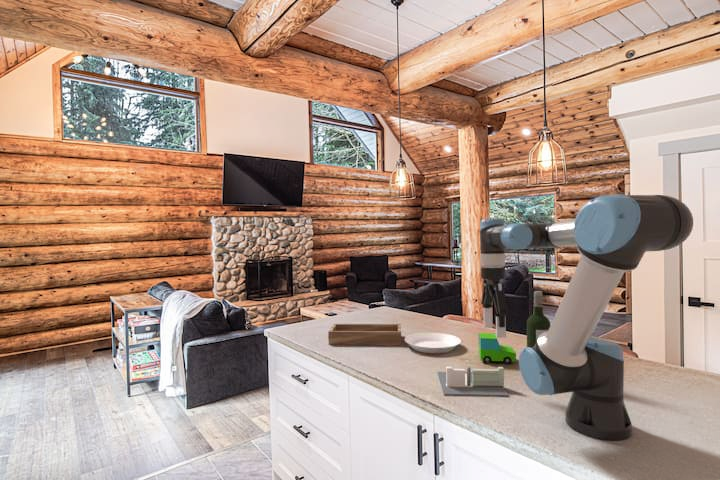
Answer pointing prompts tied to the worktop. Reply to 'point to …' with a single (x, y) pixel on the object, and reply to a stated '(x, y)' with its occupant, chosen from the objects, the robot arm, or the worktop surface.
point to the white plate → (432, 342)
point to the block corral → (365, 334)
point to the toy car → (494, 349)
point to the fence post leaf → (457, 376)
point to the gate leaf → (488, 377)
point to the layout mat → (470, 388)
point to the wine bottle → (536, 321)
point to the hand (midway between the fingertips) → (494, 332)
